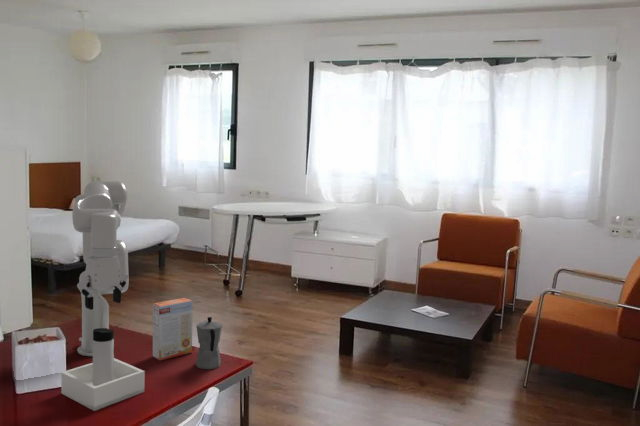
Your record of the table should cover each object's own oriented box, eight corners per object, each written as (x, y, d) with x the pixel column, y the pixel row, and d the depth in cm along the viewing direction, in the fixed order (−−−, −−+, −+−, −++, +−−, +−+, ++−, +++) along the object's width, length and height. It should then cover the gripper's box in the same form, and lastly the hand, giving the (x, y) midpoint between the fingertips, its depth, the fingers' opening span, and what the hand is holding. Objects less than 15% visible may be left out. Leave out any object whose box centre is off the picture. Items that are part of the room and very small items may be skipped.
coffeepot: (193, 359, 217) (194, 312, 215) (218, 357, 220) (219, 311, 218) (198, 375, 203) (200, 325, 201) (225, 372, 206) (227, 323, 204)
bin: (61, 393, 184) (61, 372, 183) (111, 376, 198) (111, 356, 197) (94, 411, 173) (94, 388, 172) (144, 391, 188) (144, 371, 187)
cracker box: (184, 348, 227) (185, 296, 225) (192, 353, 223) (193, 300, 220) (151, 356, 218) (152, 302, 215) (159, 361, 213) (159, 306, 211)
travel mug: (87, 390, 184) (87, 329, 181) (102, 383, 190) (102, 324, 187) (102, 394, 181) (103, 333, 179) (117, 387, 187) (118, 327, 185)
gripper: (120, 246, 189) (120, 297, 192) (70, 254, 175) (71, 308, 178) (134, 250, 185) (134, 302, 187) (85, 258, 171) (85, 314, 173)
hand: (103, 305), depth 183 cm, fingers open, 9 cm apart
